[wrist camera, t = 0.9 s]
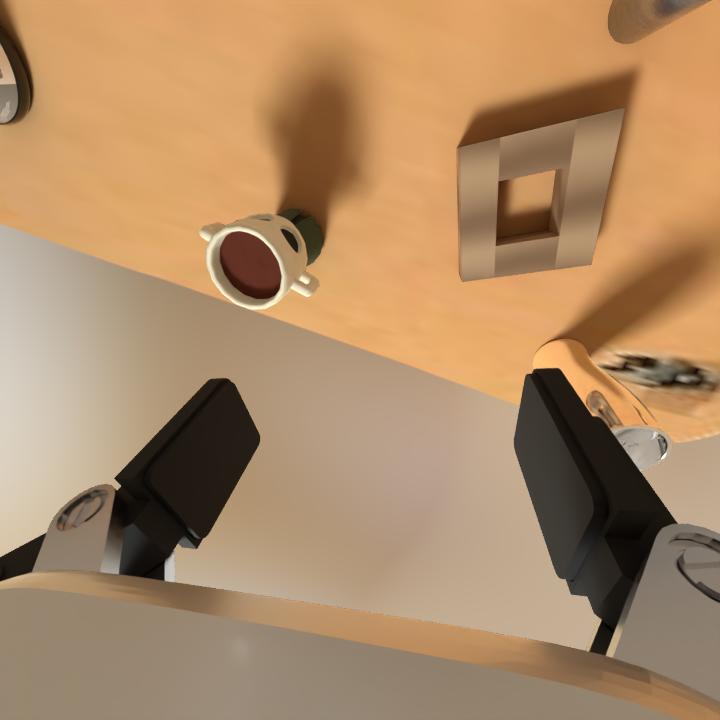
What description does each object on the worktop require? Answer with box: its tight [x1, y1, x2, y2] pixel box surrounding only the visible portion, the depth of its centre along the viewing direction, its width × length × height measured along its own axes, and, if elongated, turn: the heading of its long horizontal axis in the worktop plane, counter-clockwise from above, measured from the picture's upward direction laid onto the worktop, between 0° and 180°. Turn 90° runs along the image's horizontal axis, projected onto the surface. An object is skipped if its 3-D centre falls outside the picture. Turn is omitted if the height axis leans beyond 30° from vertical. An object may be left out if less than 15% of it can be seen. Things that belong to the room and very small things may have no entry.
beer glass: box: [533, 339, 673, 472], centre depth 32 cm, size 7×7×15 cm
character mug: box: [199, 209, 323, 309], centre depth 29 cm, size 11×7×13 cm, turn 62°
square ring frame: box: [457, 108, 625, 282], centre depth 28 cm, size 12×12×3 cm
